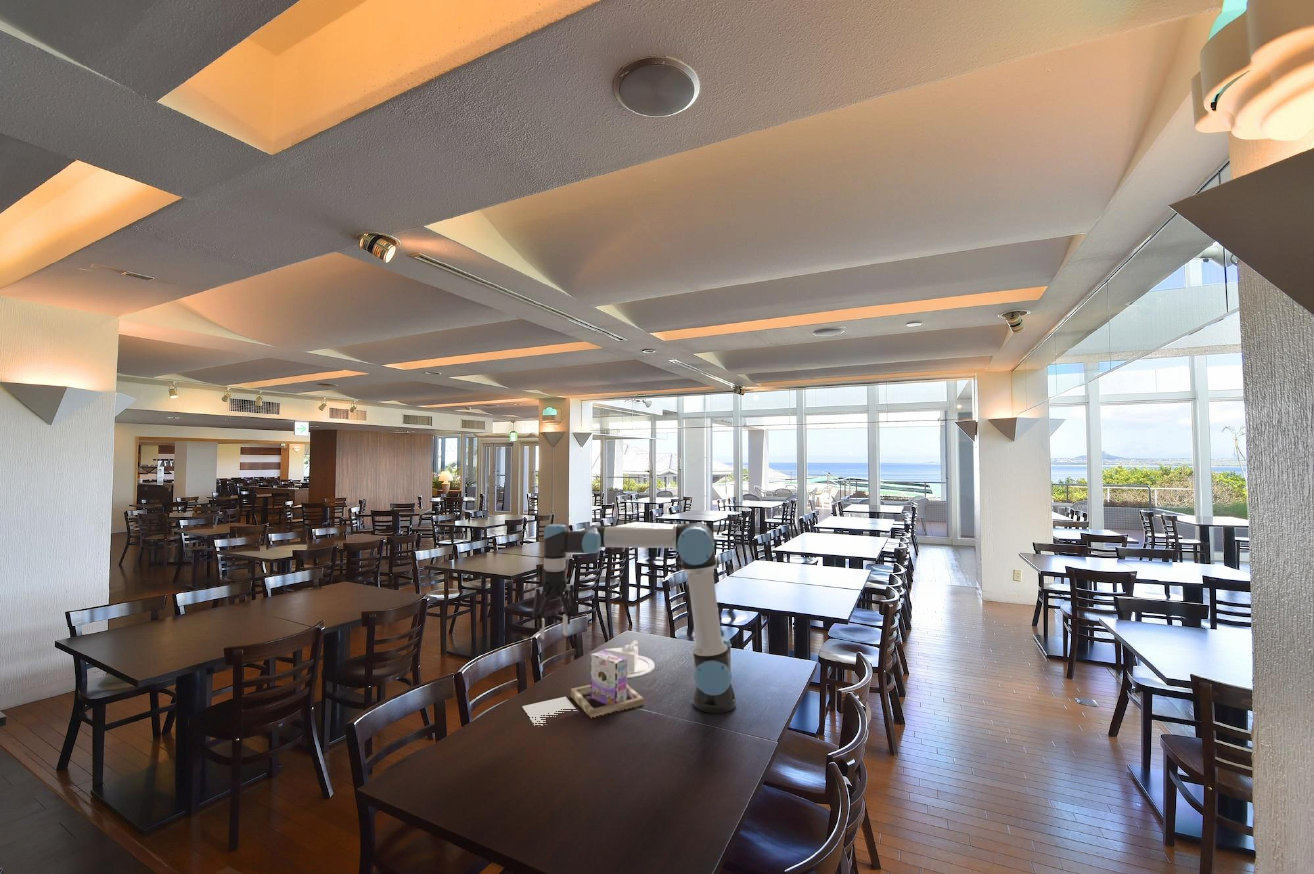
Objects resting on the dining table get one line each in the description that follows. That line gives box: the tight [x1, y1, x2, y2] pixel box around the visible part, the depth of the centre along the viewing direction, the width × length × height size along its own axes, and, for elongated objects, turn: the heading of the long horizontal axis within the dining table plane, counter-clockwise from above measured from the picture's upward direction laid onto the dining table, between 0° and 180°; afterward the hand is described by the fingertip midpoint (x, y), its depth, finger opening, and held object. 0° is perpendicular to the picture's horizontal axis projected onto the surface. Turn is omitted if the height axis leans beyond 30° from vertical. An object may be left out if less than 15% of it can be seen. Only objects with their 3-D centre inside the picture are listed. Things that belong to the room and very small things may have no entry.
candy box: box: [590, 650, 628, 706], centre depth 193 cm, size 14×6×16 cm, turn 48°
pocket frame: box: [570, 684, 645, 719], centre depth 193 cm, size 20×20×3 cm
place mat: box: [521, 696, 578, 726], centre depth 183 cm, size 20×16×1 cm
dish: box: [603, 640, 656, 679], centre depth 225 cm, size 25×25×11 cm
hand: (553, 635), depth 184 cm, fingers open, 7 cm apart
